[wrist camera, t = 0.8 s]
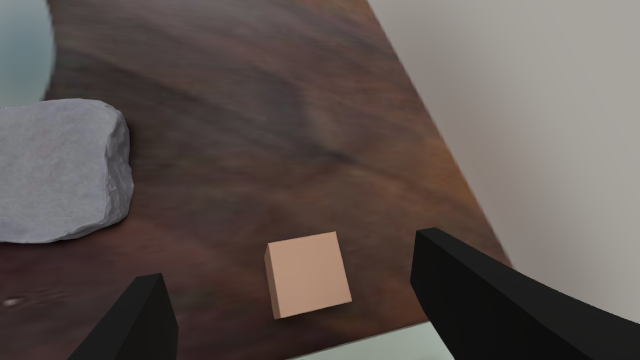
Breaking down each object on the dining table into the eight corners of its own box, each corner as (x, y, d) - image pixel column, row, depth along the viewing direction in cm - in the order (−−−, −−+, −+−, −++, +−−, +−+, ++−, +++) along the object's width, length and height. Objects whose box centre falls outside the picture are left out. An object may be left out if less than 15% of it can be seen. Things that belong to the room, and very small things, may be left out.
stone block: (143, 233, 27) (133, 113, 28) (121, 230, 22) (111, 87, 24) (-39, 259, 24) (-39, 125, 25) (-108, 263, 19) (-103, 99, 21)
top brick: (332, 304, 26) (351, 301, 21) (274, 318, 24) (281, 318, 20) (320, 246, 27) (335, 231, 23) (264, 257, 26) (268, 243, 22)
